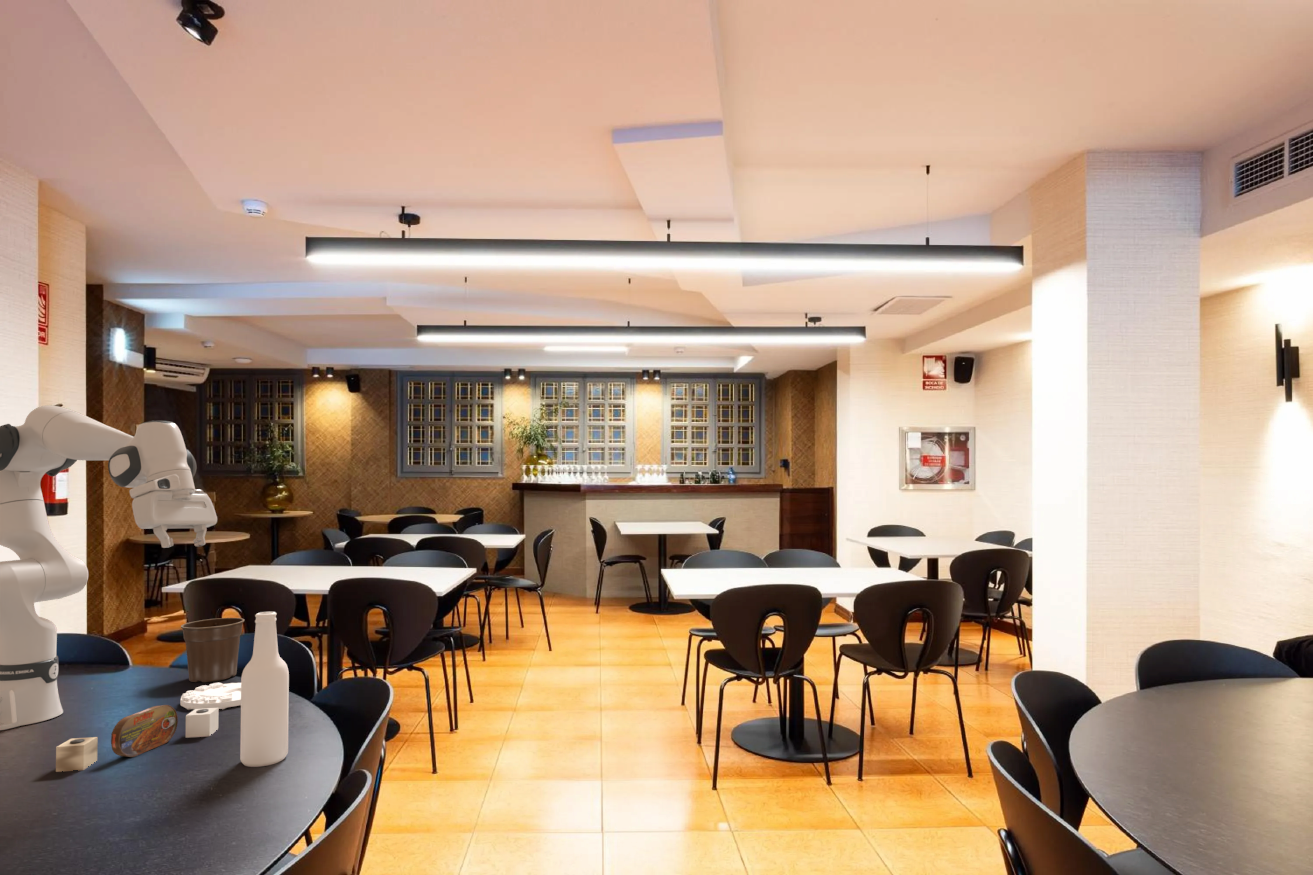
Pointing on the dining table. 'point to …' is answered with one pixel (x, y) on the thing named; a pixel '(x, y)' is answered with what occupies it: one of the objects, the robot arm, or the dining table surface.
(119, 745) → the tin
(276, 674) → the white bottle
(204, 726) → the white block
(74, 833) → the dining table surface
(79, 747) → the birch block
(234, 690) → the white round plaque
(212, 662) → the plant pot
